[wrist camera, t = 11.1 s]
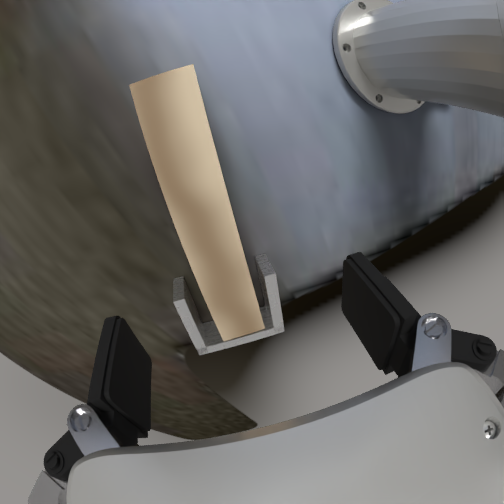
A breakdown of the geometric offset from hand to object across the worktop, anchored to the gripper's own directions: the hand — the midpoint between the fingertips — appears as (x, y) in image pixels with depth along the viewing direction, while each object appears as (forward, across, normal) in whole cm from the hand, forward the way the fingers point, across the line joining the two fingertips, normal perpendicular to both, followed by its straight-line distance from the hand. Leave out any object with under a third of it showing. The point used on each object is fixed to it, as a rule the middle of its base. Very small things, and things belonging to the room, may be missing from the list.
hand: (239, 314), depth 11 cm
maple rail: (+14, +1, +1) cm, 14 cm away
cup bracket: (+14, +1, +10) cm, 17 cm away
